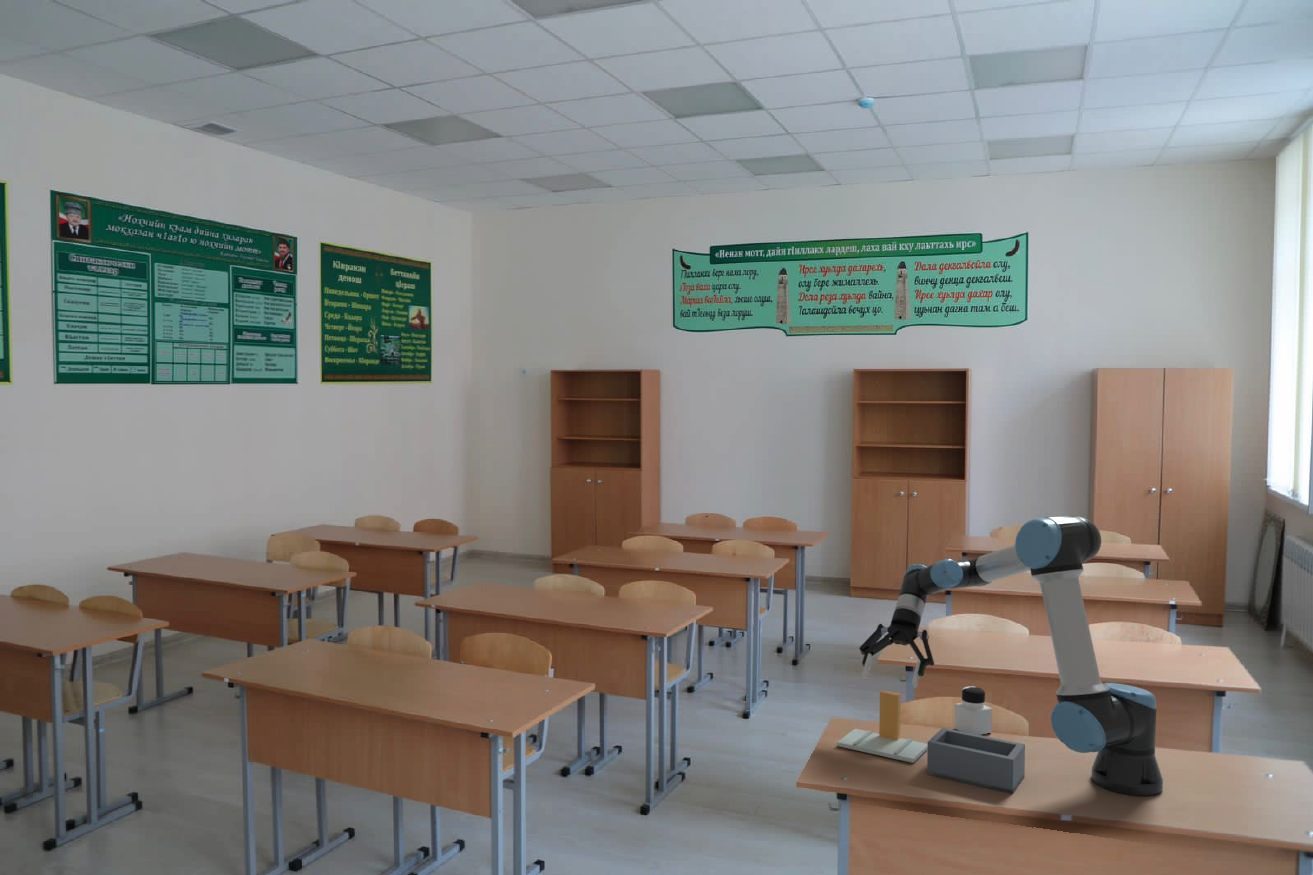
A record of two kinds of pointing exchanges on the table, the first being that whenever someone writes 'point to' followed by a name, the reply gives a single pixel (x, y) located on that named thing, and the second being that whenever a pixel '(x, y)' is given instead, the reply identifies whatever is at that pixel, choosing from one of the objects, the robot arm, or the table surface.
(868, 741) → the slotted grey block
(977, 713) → the medicine bottle
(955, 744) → the tub
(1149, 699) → the robot arm
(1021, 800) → the table surface
